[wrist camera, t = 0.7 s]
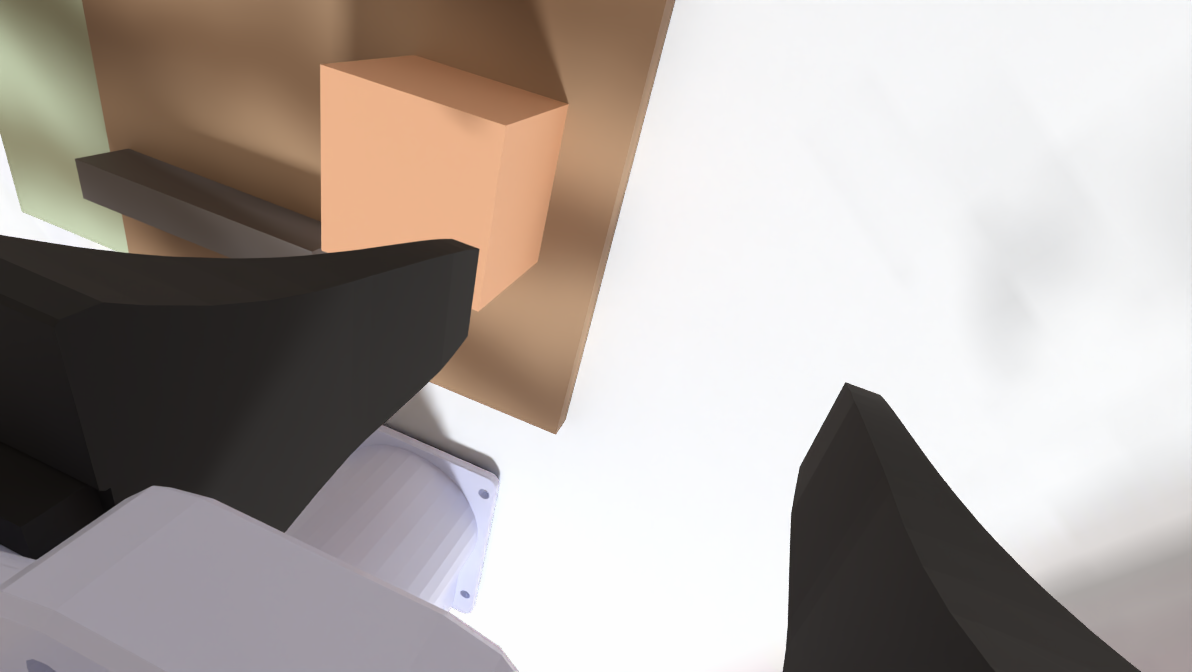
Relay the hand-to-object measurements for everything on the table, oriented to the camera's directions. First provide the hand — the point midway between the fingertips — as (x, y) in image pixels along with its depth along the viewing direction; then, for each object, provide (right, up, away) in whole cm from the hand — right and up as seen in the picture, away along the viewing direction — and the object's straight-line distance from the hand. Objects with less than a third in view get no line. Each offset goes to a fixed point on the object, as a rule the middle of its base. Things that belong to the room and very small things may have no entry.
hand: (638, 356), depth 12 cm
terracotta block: (-4, +6, +7) cm, 10 cm away
